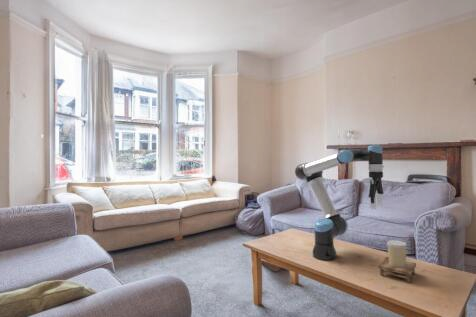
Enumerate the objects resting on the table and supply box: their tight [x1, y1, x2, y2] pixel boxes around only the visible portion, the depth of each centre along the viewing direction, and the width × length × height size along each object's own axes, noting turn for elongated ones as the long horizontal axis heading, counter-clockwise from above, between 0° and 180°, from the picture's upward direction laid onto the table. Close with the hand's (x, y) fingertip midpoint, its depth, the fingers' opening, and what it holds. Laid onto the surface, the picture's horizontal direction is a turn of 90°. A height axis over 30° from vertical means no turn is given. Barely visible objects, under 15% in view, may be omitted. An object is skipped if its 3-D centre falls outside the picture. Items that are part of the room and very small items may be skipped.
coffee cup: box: [386, 239, 408, 267], centre depth 146 cm, size 9×9×12 cm
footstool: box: [378, 256, 417, 284], centre depth 146 cm, size 15×15×6 cm
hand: (376, 206), depth 159 cm, fingers open, 13 cm apart
